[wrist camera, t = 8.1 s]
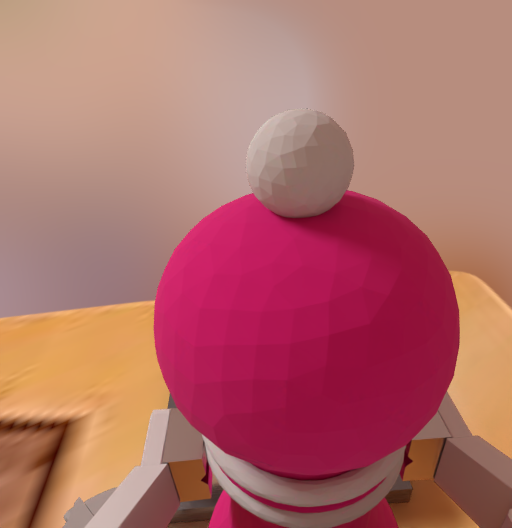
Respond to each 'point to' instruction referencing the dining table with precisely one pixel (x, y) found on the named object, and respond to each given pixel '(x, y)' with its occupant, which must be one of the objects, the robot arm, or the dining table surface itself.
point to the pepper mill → (305, 336)
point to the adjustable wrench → (85, 510)
